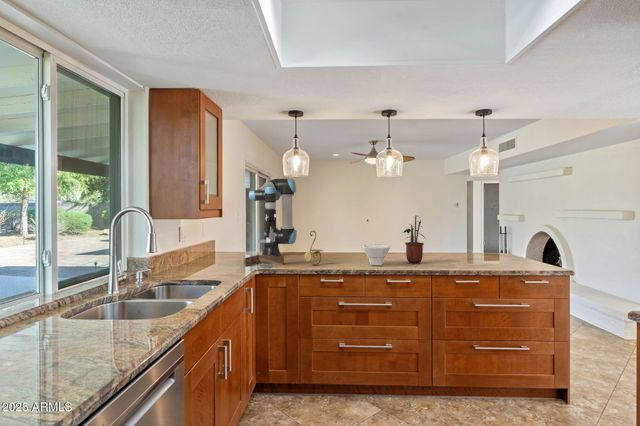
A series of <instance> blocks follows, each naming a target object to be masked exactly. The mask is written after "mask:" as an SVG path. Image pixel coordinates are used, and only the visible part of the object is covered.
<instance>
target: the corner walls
mask: <svg viewBox="0 0 640 426" xmlns="http://www.w3.org/2000/svg"><path fill="white" fill-rule="evenodd" d="M256 263H258V264H262V263H265V264H264V265H277V264H278V266H283V265H285V257H284V256H282V255H281V256H269V255H262V254H256V255H250V256H248V257H247V256H246V257H244V258H243V267H244V266H246V267H249V266H248V265H250V266H253V265H252V264H254V265H257V264H256Z"/></svg>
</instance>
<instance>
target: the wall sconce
mask: <svg viewBox="0 0 640 426" xmlns="http://www.w3.org/2000/svg"><path fill="white" fill-rule="evenodd" d="M312 233H314V234H312ZM309 235H310V237H313V236H314V239H313V240H312V243H311V244H310V247H309V251H306V252H305V253H304V260H305V261H306V262H309V263H310V264H311V265H312V266H317V265H319V264H320V263H321V261H322V254H321V252H324V249H321V248H320V249H318V248H317V249H316V248H314V249H312V248H313V245H314V243H315V241H316V239H317V232H316V231H315V230H311V231H310V232H309ZM311 252H314V253H311ZM318 254H319V260H318V262H316V263H313V262H312V258H313V259H317V257H318Z"/></svg>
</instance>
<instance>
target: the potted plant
mask: <svg viewBox="0 0 640 426" xmlns="http://www.w3.org/2000/svg"><path fill="white" fill-rule="evenodd" d="M417 218H419V221H417ZM417 222H418V224H417ZM421 223H422V221H421V217H420V216H419V215H414V226H413V224H411V223H409V225H410V228H407V229H405V230H404V231H402V233H407V235H409V233H410V236H407V237H406V239H408V238H409V239H410V240H409V241H407V242H405V243H404V244H405V248H406V249H405V253H406V255H405V256H406V260H407V262H408V263H409V264H411V263H412V264H413V265H418V264H420V263H421V262H422V260H423V255H424V254H423V253H424V249H423V248H424V244H425V243H424V242H419V241H418V238H419V235H420V236H422V237H423V238H424V239H426V237H425V236H424V235H423V234H422V233H419V231H420V227H422V228H423V226H422V225H421ZM417 225H418V226H417Z"/></svg>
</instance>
